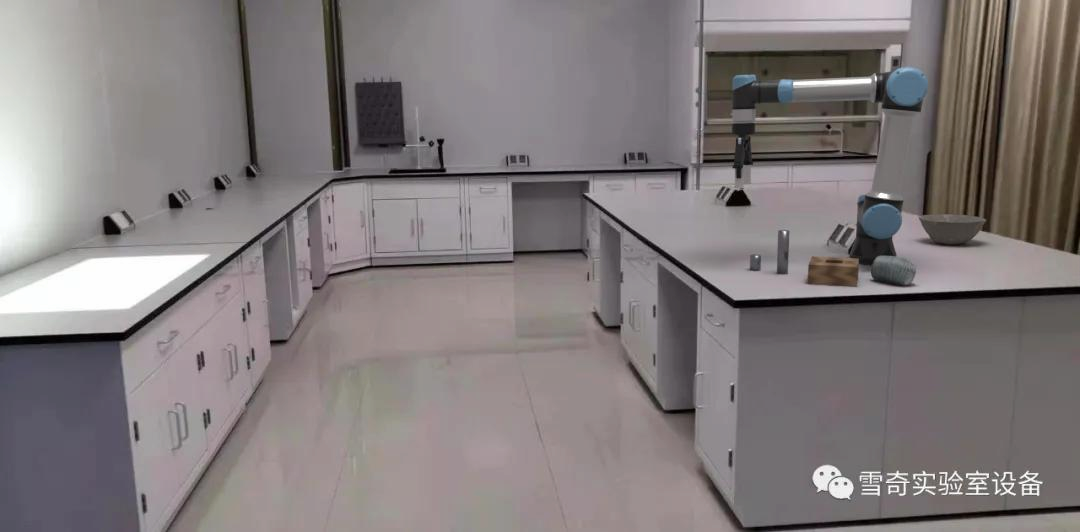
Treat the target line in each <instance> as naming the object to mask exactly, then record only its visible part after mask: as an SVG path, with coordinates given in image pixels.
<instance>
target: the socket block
mask: <svg viewBox="0 0 1080 532" xmlns="http://www.w3.org/2000/svg"><path fill="white" fill-rule="evenodd" d="M859 264H860V263H859V259H856V258H849V257H833V256H811V258H810V260H809V263H808V265H807V266H808V269H807V284H808V285H820V284H821V286H822V285H823V286H836V287H837V286H840V287H858V286H857V285H858V282H859V281H858V279H859V278H858V277H859V266H860V265H859Z"/></svg>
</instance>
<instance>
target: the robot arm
mask: <svg viewBox="0 0 1080 532" xmlns="http://www.w3.org/2000/svg"><path fill="white" fill-rule="evenodd" d="M928 90H929V82H928V78H927V77H926V75H925V73H924V72H923V71H921V70H920V69H918V68H916V67H913V66H903V67H900V68H897V69H894V70H890V71H886V72H885V71H884V72H874V73H873V74H872V75H870V76H856V77H855V76H853V77H852V76H851V77H835V78H834V77H832V78H831V77H830V78H812V79H811V78H810V79H809V78H808V79H807V78H806V79H785V78H781V79H768V80H759V79H757V76H756V75H755V74H739V75H738V74H737V75H735V76H734V77H733V78H732V89H731V97H732V98H731V103H732V105H731V108H732V110H731V112H730V116H731V121H732V122H733V123H732V124H731V135H734V136H737V135H738V136H737V137H736V138H735V150H734V159H733V165H732V167H731V168H732V169H734V189H744V185H751V182H752V181H751V179H752V178H751V175H752V174H751V172H752V171H751V170H752V168H751V167H752V166H753V165H754V162H753V159H752V147H751V146H752V145H751V141H752V140H751V139H752V138H751V136H750V135H755V133H756V124H755V121H756V116H757V115H756V113H757V111H756V104H759V105H761V104H787V103H809V102H810V103H812V102H813V103H815V102H817V103H818V102H845V101H847V102H849V101H870V102H871V103H873V104H874V103H875V104H877V103H879V104H880V103H881V109H880V110H881V111H882V113H883V114H884V119H883V124H882V125H883V126H882V131H881V136H880V142H879V147H878V148H879V149H878V153H877V157H876V163H875V167H874V168H875V169H874V175H873V179H872V183H871V184H872V185H871V186H872V187H871V189H870V190H869V191H868V192H866V193H865V194H861V195H859V196H858V199H857V202H856V205H857V213H856V227H855V230H856V231H855V232H856V233H855V240H854V243H853V244H852V247H851V250H850V251H849V257H848V258H856V259H859V264H862V265H870V266H872V263H873V261H874V260H875V258H877V257H878V256H896V257H898V255H897V252H896V247H895V246H894V245H895V244H894V240H893V236H894V235H896V234H897V233H898V232H899V230H900V229H901V226H902V223H903V217H902V211H903V205H904V197H903V195H901V190H902V183H903V178H904V173H905V168H906V165H907V164H906V163H907V159H908V152H909V148H910V141H911V135H912V133H913V132H912V131H913V126H914V123H915V118H916V117H918V116H919V115H920V114H922V113H921V112H922V107H923V104H924V103H923V102H924V99H925V97H926V95H927V93H928Z"/></svg>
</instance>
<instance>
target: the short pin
mask: <svg viewBox="0 0 1080 532" xmlns="http://www.w3.org/2000/svg"><path fill="white" fill-rule="evenodd" d="M749 270H750V271H751V272H759V271H762V254H757V253H753V254H750V255H749Z"/></svg>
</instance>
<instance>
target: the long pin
mask: <svg viewBox="0 0 1080 532" xmlns="http://www.w3.org/2000/svg"><path fill="white" fill-rule="evenodd" d="M789 248H790V230H789V229H778V231H777V249H776V250H777V252H776V253H777V254H776V255H777V257H776V274H778V275H788V274H789V257H790V255H789V254H790V249H789Z"/></svg>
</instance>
